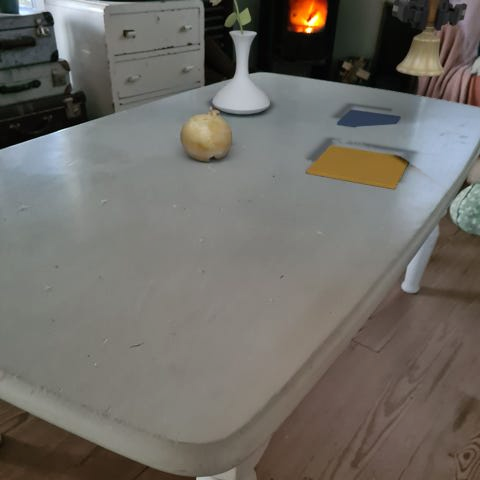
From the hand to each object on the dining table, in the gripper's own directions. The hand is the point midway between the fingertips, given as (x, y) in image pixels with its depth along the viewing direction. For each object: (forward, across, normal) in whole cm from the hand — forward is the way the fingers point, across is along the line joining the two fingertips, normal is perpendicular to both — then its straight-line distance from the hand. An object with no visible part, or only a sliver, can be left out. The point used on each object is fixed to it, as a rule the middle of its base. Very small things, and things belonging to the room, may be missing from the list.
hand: (432, 20), depth 83 cm
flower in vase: (-4, +33, -18) cm, 37 cm away
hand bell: (-6, 0, -9) cm, 10 cm away
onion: (+23, +31, -18) cm, 42 cm away
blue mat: (-6, +7, -18) cm, 20 cm away
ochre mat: (+20, +7, -18) cm, 27 cm away
